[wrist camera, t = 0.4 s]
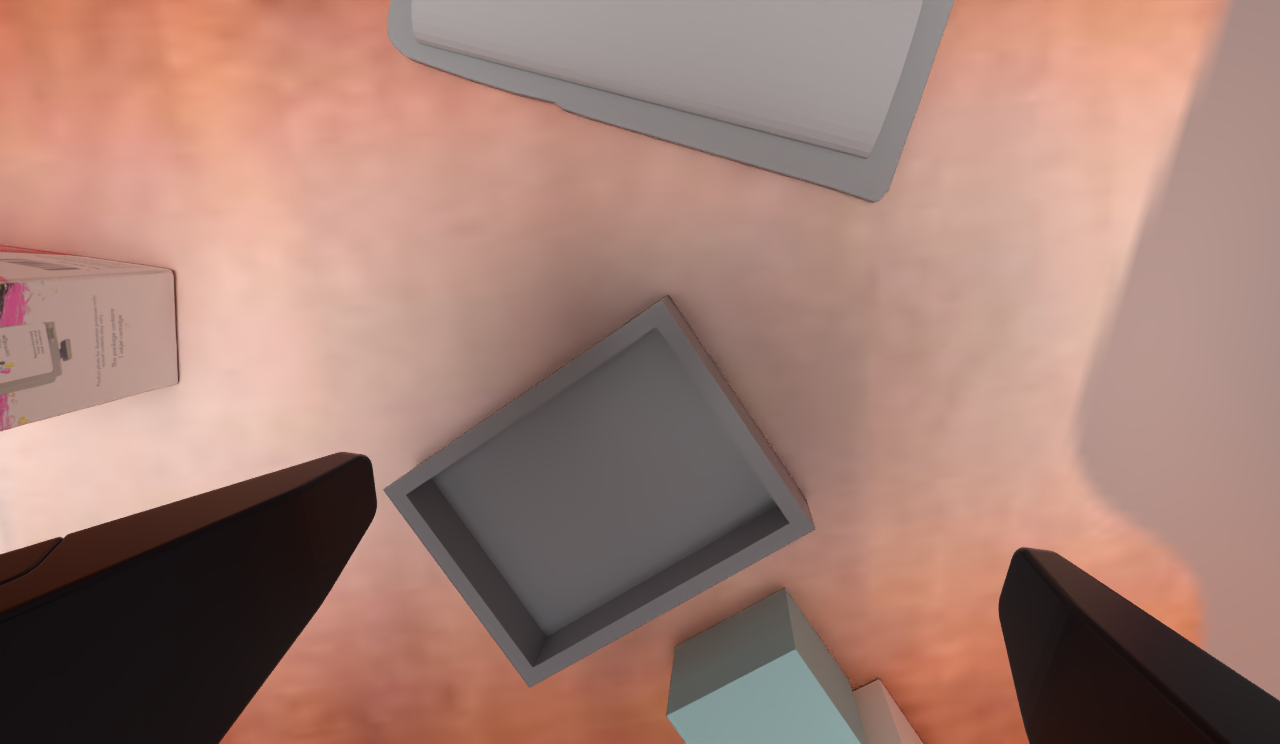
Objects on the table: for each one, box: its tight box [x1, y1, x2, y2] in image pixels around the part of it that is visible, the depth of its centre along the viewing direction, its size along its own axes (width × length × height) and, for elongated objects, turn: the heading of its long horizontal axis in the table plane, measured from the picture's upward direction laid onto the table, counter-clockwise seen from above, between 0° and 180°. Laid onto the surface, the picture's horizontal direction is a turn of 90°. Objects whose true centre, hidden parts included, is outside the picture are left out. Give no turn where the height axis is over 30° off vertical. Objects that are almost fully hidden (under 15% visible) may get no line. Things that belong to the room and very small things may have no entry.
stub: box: [666, 587, 867, 744], centre depth 23 cm, size 5×4×4 cm
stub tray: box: [384, 295, 815, 688], centre depth 23 cm, size 12×9×2 cm
